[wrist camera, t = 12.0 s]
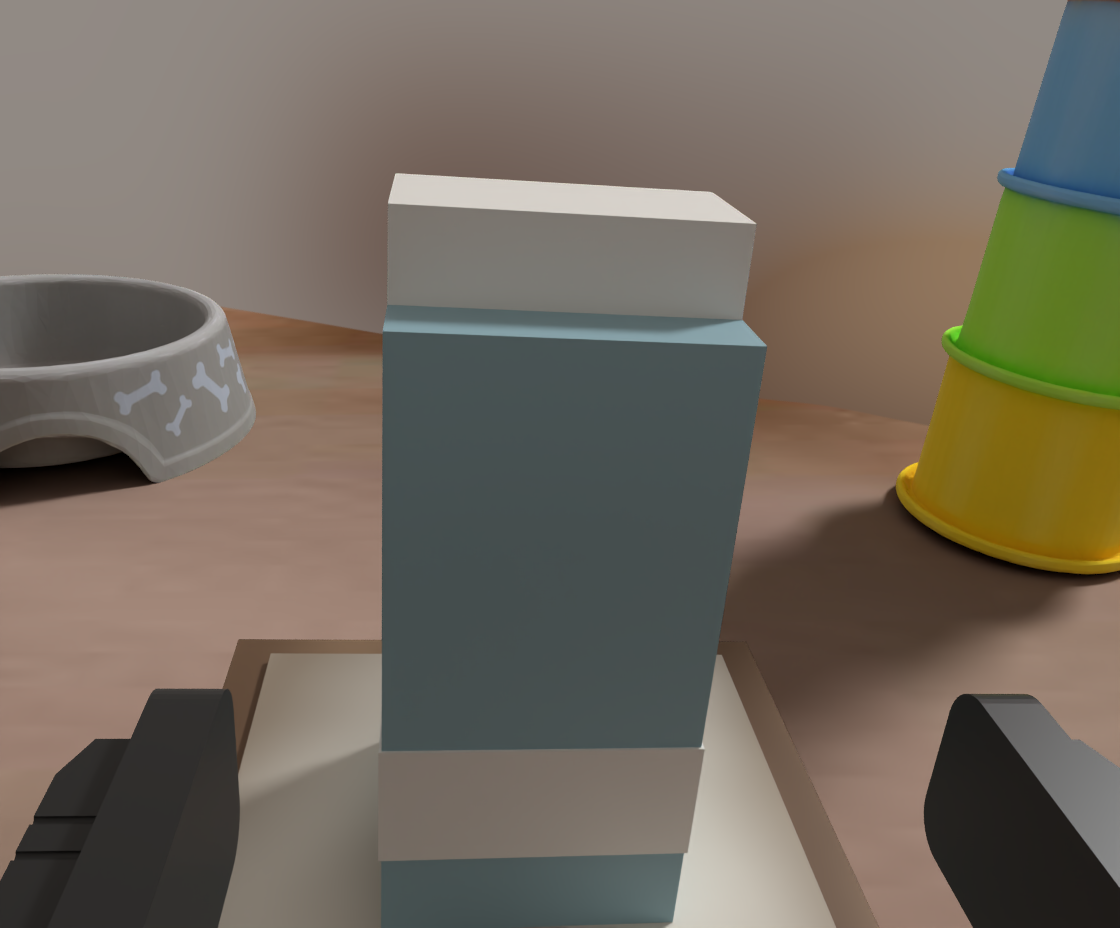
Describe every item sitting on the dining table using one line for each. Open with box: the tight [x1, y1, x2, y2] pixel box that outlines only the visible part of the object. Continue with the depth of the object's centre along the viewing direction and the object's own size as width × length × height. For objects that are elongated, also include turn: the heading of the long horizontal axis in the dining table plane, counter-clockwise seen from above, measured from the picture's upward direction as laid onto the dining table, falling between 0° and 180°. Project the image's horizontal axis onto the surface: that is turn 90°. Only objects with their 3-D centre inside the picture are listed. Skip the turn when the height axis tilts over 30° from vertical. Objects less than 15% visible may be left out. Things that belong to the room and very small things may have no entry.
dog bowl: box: [0, 274, 256, 483], centre depth 46 cm, size 17×18×5 cm
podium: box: [218, 639, 879, 928], centre depth 22 cm, size 14×14×3 cm
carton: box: [378, 173, 767, 928], centre depth 19 cm, size 6×6×13 cm
